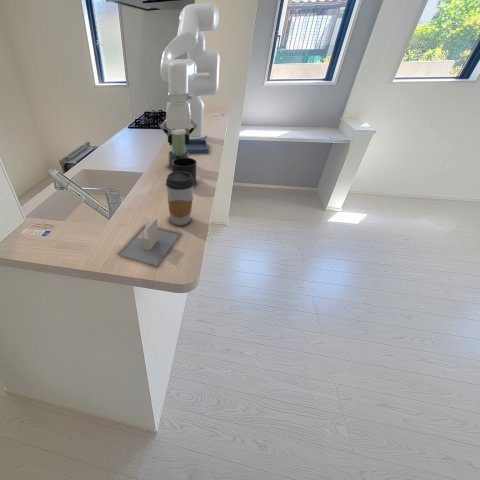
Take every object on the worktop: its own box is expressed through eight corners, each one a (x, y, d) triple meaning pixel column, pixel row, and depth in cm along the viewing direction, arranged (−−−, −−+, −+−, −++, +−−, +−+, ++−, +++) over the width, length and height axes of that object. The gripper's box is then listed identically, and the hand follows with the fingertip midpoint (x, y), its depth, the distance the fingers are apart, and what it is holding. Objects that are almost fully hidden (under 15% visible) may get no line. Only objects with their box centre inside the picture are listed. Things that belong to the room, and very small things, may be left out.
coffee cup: (193, 213, 88) (194, 170, 80) (193, 227, 82) (194, 182, 73) (168, 213, 89) (166, 170, 80) (166, 227, 83) (164, 182, 74)
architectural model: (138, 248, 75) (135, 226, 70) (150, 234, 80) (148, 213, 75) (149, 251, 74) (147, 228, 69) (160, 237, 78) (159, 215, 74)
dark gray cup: (169, 163, 126) (169, 149, 123) (188, 163, 126) (188, 149, 122) (168, 170, 119) (168, 156, 116) (188, 170, 119) (188, 156, 115)
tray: (180, 144, 149) (180, 140, 148) (205, 144, 148) (206, 139, 146) (179, 154, 136) (179, 149, 135) (207, 154, 135) (207, 149, 133)
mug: (198, 177, 112) (199, 155, 107) (193, 189, 103) (194, 167, 98) (176, 175, 114) (176, 154, 109) (169, 187, 105) (169, 165, 100)
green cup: (172, 156, 124) (171, 130, 117) (185, 156, 123) (186, 130, 116) (171, 161, 118) (170, 134, 112) (185, 161, 118) (185, 134, 111)
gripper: (199, 96, 108) (198, 141, 119) (157, 97, 110) (159, 142, 121) (200, 99, 102) (198, 146, 113) (155, 101, 104) (158, 147, 115)
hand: (178, 143), depth 117 cm, fingers closed on green cup, 6 cm apart
